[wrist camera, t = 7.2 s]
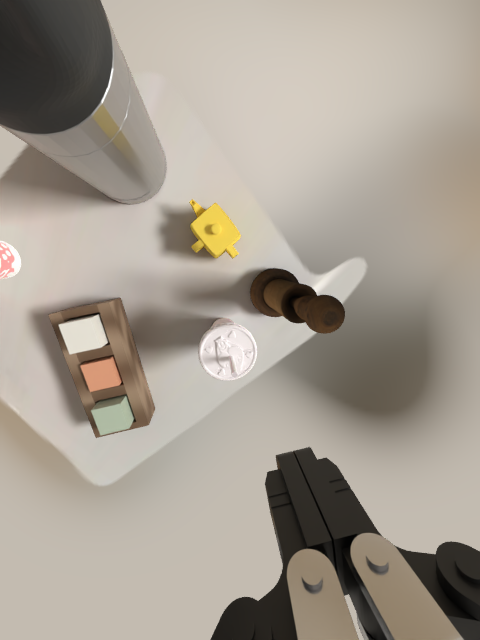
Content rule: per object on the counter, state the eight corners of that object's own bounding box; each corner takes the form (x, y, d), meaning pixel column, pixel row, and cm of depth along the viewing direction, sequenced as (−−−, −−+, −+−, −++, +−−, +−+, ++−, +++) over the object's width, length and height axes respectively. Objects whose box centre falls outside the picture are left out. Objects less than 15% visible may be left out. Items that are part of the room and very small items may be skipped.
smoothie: (217, 359, 37) (221, 414, 23) (192, 324, 35) (180, 361, 22) (254, 336, 37) (279, 378, 23) (230, 299, 35) (242, 322, 22)
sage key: (101, 397, 33) (90, 410, 31) (128, 391, 34) (120, 403, 31) (109, 421, 34) (100, 435, 31) (136, 414, 35) (129, 428, 32)
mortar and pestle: (270, 323, 37) (324, 377, 19) (240, 291, 35) (269, 318, 18) (304, 292, 36) (390, 317, 19) (275, 258, 35) (340, 252, 17)
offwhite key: (72, 319, 31) (58, 324, 28) (102, 312, 31) (91, 317, 28) (82, 346, 32) (69, 354, 29) (111, 339, 32) (101, 347, 29)
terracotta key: (91, 356, 33) (80, 365, 30) (119, 350, 34) (110, 359, 31) (100, 381, 34) (90, 392, 31) (127, 375, 34) (119, 385, 31)
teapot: (173, 225, 32) (166, 218, 27) (207, 195, 32) (206, 183, 27) (213, 273, 34) (214, 275, 29) (246, 246, 34) (252, 243, 29)
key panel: (67, 308, 33) (48, 314, 29) (120, 297, 34) (108, 302, 30) (108, 419, 37) (95, 437, 33) (155, 408, 38) (148, 425, 34)
